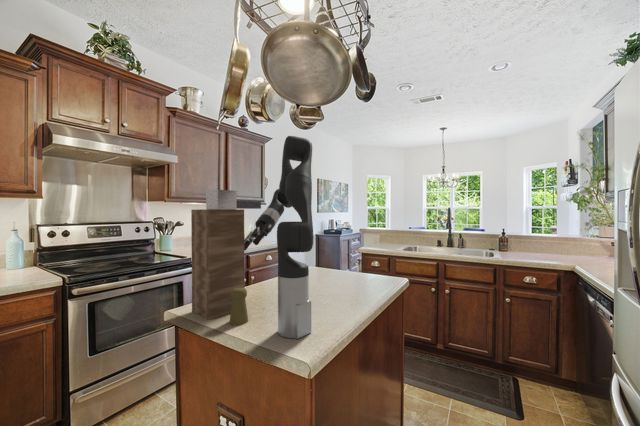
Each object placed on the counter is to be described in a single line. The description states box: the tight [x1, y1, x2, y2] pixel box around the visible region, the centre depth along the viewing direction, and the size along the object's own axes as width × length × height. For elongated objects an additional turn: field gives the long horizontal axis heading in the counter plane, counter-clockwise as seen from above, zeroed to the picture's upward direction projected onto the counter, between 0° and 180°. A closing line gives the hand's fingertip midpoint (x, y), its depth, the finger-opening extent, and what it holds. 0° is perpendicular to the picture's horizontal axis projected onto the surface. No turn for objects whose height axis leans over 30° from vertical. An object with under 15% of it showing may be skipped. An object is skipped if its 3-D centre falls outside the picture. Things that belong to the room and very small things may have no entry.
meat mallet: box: [205, 189, 262, 210], centre depth 114 cm, size 7×22×7 cm, turn 144°
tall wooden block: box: [190, 208, 245, 320], centre depth 108 cm, size 12×14×37 cm
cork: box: [229, 287, 249, 326], centre depth 97 cm, size 6×6×11 cm
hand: (248, 246), depth 117 cm, fingers open, 8 cm apart
